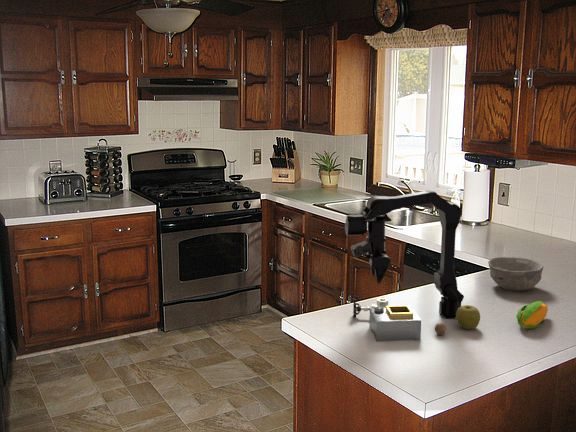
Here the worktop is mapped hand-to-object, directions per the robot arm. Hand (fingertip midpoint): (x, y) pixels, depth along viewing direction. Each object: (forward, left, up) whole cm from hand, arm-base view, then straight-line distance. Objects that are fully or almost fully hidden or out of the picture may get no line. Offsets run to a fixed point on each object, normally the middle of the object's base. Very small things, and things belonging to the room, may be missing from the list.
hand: (376, 279), depth 212 cm
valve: (+1, -1, -15) cm, 15 cm away
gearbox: (-4, +14, -14) cm, 20 cm away
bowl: (-61, -29, -14) cm, 69 cm away
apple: (-29, +11, -14) cm, 34 cm away
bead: (-18, +16, -14) cm, 28 cm away
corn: (-51, +9, -15) cm, 54 cm away
